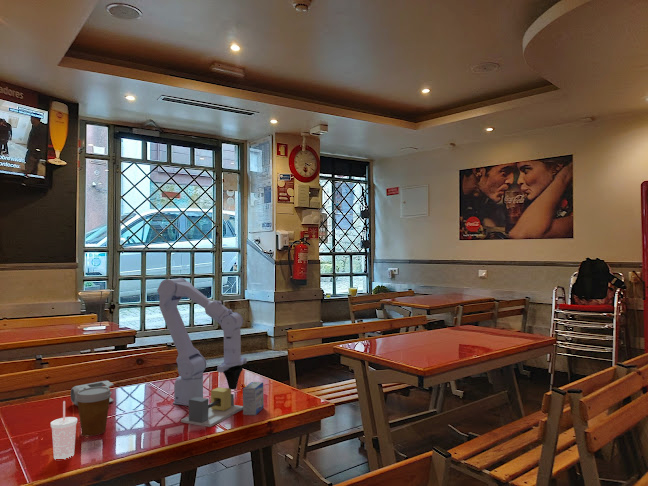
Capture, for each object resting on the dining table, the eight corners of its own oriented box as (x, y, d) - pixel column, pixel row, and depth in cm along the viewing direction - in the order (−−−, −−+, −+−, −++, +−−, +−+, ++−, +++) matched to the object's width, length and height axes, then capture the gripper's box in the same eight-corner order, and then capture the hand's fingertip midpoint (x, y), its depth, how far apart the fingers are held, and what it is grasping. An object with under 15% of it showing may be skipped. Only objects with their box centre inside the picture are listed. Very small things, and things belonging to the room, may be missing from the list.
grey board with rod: (181, 422, 145) (181, 398, 145) (216, 404, 162) (216, 383, 162) (210, 427, 141) (210, 402, 141) (243, 408, 157) (243, 387, 157)
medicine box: (255, 415, 150) (255, 388, 150) (242, 415, 151) (242, 387, 151) (263, 408, 158) (263, 382, 158) (251, 407, 159) (251, 381, 159)
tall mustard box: (211, 408, 154) (211, 390, 154) (218, 405, 158) (218, 387, 158) (223, 410, 152) (223, 392, 152) (231, 407, 156) (230, 388, 156)
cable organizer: (78, 392, 156) (116, 385, 164) (68, 384, 165) (104, 378, 173) (78, 412, 156) (116, 404, 164) (68, 403, 165) (104, 396, 173)
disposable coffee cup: (87, 440, 131) (87, 397, 132) (68, 434, 136) (68, 392, 137) (118, 429, 139) (118, 388, 140) (99, 423, 144) (99, 384, 145)
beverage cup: (44, 459, 120) (44, 403, 120) (65, 449, 125) (65, 396, 126) (62, 462, 117) (62, 406, 118) (82, 453, 123) (82, 399, 123)
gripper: (229, 353, 153) (230, 395, 153) (253, 345, 166) (254, 384, 166) (211, 352, 156) (212, 393, 156) (236, 344, 169) (237, 382, 169)
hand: (232, 388), depth 161 cm, fingers closed
